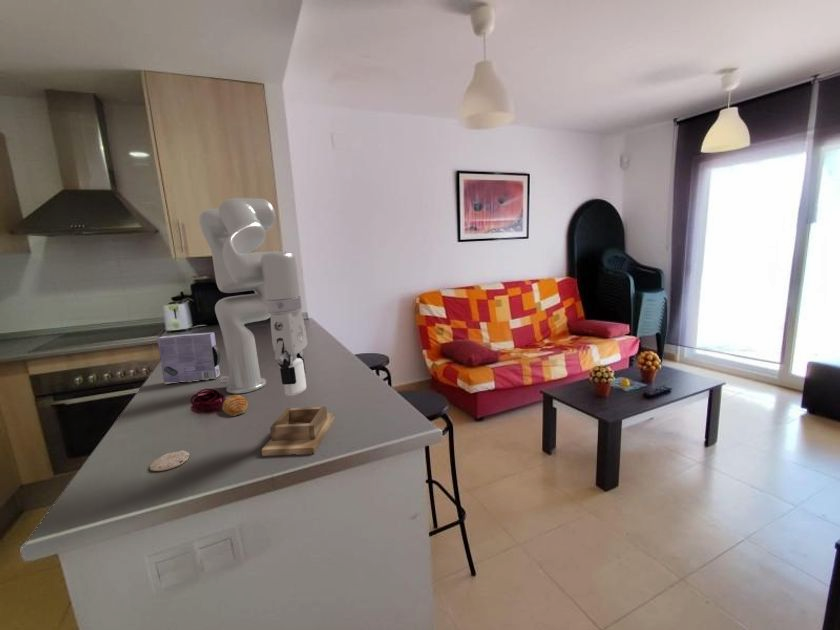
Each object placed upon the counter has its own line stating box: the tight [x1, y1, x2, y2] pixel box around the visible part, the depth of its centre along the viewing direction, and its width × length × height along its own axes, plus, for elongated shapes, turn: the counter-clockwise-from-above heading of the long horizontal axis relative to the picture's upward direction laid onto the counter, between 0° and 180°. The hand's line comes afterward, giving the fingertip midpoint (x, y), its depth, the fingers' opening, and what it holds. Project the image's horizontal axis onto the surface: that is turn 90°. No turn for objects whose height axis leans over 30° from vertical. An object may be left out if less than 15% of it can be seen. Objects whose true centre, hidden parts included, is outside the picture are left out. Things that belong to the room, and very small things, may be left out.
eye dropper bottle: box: [283, 352, 307, 397], centre depth 93 cm, size 4×6×12 cm
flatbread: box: [149, 449, 190, 472], centre depth 88 cm, size 8×8×1 cm
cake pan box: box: [157, 331, 221, 384], centre depth 142 cm, size 19×5×18 cm, turn 100°
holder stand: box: [261, 406, 336, 457], centre depth 95 cm, size 12×18×5 cm, turn 178°
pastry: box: [222, 394, 249, 417], centre depth 113 cm, size 9×7×4 cm
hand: (294, 378), depth 93 cm, fingers closed on eye dropper bottle, 5 cm apart
